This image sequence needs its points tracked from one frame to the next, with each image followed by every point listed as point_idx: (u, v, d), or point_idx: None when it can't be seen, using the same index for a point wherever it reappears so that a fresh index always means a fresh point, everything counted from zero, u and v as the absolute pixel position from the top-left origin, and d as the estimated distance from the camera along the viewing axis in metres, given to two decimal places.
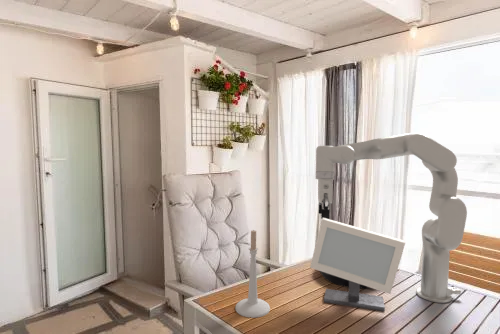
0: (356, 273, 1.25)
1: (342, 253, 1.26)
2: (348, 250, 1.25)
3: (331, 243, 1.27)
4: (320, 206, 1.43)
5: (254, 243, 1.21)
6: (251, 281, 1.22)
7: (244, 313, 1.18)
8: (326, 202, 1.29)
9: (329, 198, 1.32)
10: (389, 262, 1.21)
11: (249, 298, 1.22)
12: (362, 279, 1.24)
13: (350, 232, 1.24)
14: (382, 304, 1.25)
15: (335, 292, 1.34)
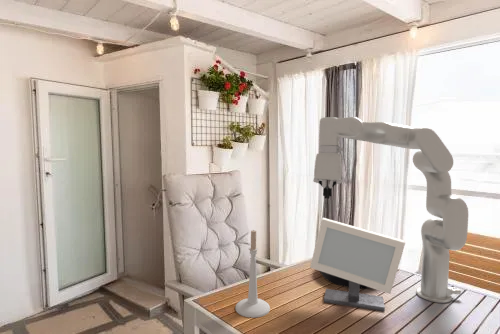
0: (356, 273, 1.25)
1: (342, 253, 1.26)
2: (348, 250, 1.25)
3: (331, 243, 1.27)
4: None
5: (254, 243, 1.21)
6: (251, 281, 1.22)
7: (244, 313, 1.18)
8: (339, 183, 1.25)
9: None
10: (389, 262, 1.21)
11: (249, 298, 1.22)
12: (362, 279, 1.24)
13: (350, 232, 1.24)
14: (382, 304, 1.25)
15: (335, 292, 1.34)
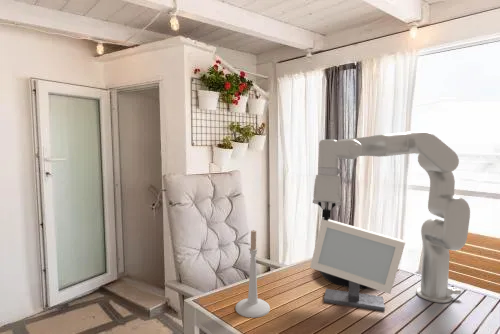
0: (356, 273, 1.25)
1: (342, 253, 1.26)
2: (348, 250, 1.25)
3: (331, 243, 1.27)
4: (326, 211, 1.26)
5: (254, 243, 1.21)
6: (251, 281, 1.22)
7: (244, 313, 1.18)
8: None
9: None
10: (389, 262, 1.21)
11: (249, 298, 1.22)
12: (362, 279, 1.24)
13: (350, 232, 1.24)
14: (382, 304, 1.25)
15: (335, 292, 1.34)
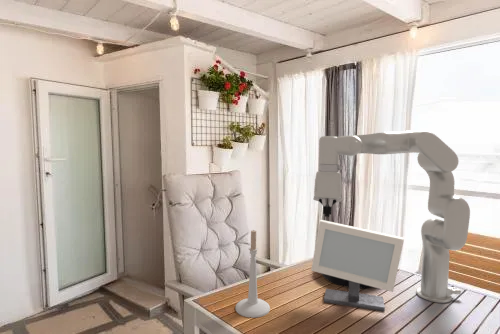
0: (357, 273, 1.25)
1: (342, 253, 1.26)
2: (348, 250, 1.25)
3: (330, 245, 1.27)
4: None
5: (254, 243, 1.21)
6: (251, 281, 1.22)
7: (244, 313, 1.18)
8: (339, 201, 1.25)
9: None
10: (389, 260, 1.21)
11: (249, 298, 1.22)
12: (364, 279, 1.23)
13: (348, 232, 1.24)
14: (382, 304, 1.25)
15: (335, 292, 1.34)
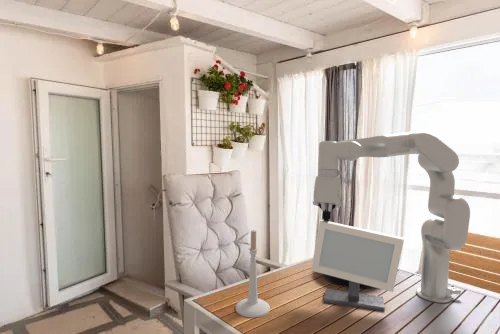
0: (357, 273, 1.25)
1: (342, 253, 1.26)
2: (348, 250, 1.25)
3: (330, 245, 1.27)
4: (326, 213, 1.26)
5: (254, 243, 1.21)
6: (251, 281, 1.22)
7: (244, 313, 1.18)
8: (339, 206, 1.25)
9: None
10: (389, 260, 1.21)
11: (249, 298, 1.22)
12: (364, 279, 1.23)
13: (348, 232, 1.24)
14: (382, 304, 1.25)
15: (335, 292, 1.34)
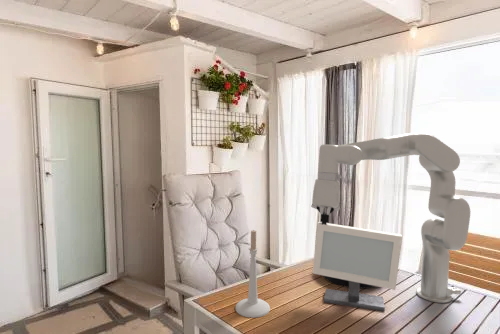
0: (359, 273, 1.25)
1: (342, 254, 1.26)
2: (348, 251, 1.25)
3: (330, 246, 1.27)
4: (324, 216, 1.27)
5: (254, 243, 1.21)
6: (251, 281, 1.22)
7: (244, 313, 1.18)
8: None
9: (339, 200, 1.27)
10: (389, 258, 1.21)
11: (249, 298, 1.22)
12: (365, 278, 1.23)
13: (347, 233, 1.24)
14: (382, 304, 1.25)
15: (335, 292, 1.34)
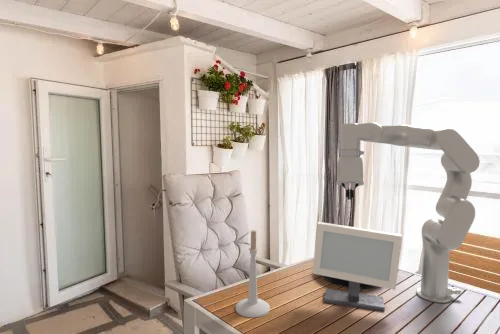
0: (359, 273, 1.25)
1: (342, 254, 1.26)
2: (348, 251, 1.25)
3: (330, 246, 1.27)
4: None
5: (254, 243, 1.21)
6: (251, 281, 1.22)
7: (244, 313, 1.18)
8: None
9: None
10: (389, 258, 1.21)
11: (249, 298, 1.22)
12: (365, 278, 1.23)
13: (347, 233, 1.24)
14: (382, 304, 1.25)
15: (335, 292, 1.34)
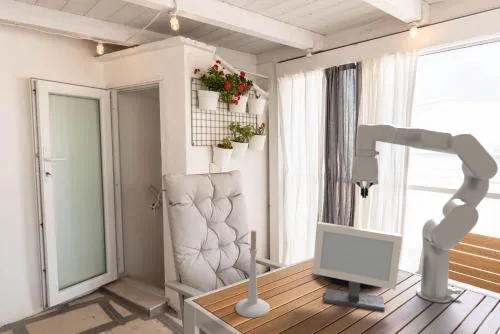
0: (359, 273, 1.25)
1: (342, 254, 1.26)
2: (348, 251, 1.25)
3: (330, 246, 1.27)
4: None
5: (254, 243, 1.21)
6: (251, 281, 1.22)
7: (244, 313, 1.18)
8: None
9: None
10: (389, 258, 1.21)
11: (249, 298, 1.22)
12: (365, 278, 1.23)
13: (347, 233, 1.24)
14: (382, 304, 1.25)
15: (335, 292, 1.34)
